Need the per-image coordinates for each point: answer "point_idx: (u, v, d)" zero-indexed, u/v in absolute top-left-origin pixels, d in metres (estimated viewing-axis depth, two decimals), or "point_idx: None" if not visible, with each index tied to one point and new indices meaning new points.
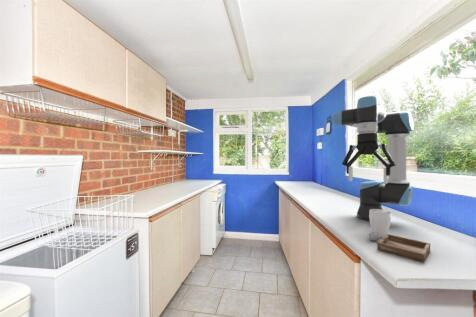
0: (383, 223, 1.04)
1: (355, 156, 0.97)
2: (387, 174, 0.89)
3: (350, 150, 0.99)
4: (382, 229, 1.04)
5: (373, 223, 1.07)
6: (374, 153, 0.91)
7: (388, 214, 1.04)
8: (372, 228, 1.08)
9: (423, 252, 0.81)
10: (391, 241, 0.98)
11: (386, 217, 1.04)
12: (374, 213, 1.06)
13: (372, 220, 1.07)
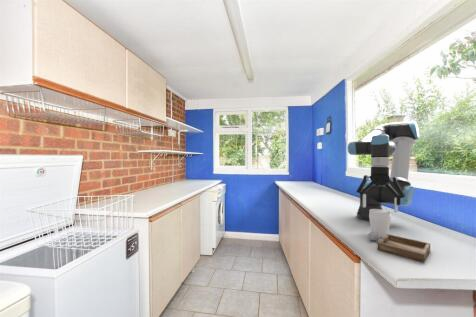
0: (383, 223, 1.04)
1: (369, 186, 1.10)
2: (397, 204, 1.01)
3: (364, 180, 1.12)
4: (382, 229, 1.04)
5: (373, 223, 1.07)
6: (386, 185, 1.04)
7: (388, 214, 1.04)
8: (372, 228, 1.08)
9: (423, 252, 0.81)
10: (391, 241, 0.98)
11: (386, 217, 1.03)
12: (374, 213, 1.06)
13: (372, 220, 1.07)
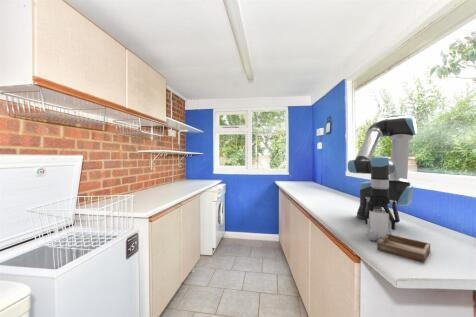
0: (383, 223, 1.04)
1: (371, 208, 1.10)
2: (392, 228, 1.03)
3: (365, 202, 1.11)
4: (382, 229, 1.04)
5: (373, 223, 1.07)
6: (384, 207, 1.05)
7: (388, 214, 1.04)
8: (372, 228, 1.08)
9: (423, 252, 0.81)
10: (391, 241, 0.98)
11: (386, 217, 1.03)
12: (374, 213, 1.06)
13: (372, 220, 1.07)
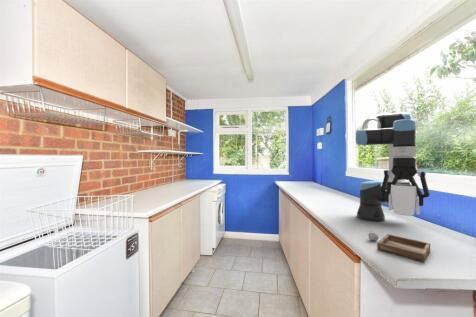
0: (409, 198, 0.86)
1: (393, 182, 0.92)
2: (420, 204, 0.86)
3: (386, 176, 0.94)
4: (408, 205, 0.87)
5: (396, 199, 0.89)
6: (410, 180, 0.87)
7: (415, 187, 0.86)
8: (395, 205, 0.90)
9: (423, 252, 0.81)
10: (391, 241, 0.98)
11: (413, 190, 0.86)
12: (398, 187, 0.88)
13: (395, 195, 0.89)
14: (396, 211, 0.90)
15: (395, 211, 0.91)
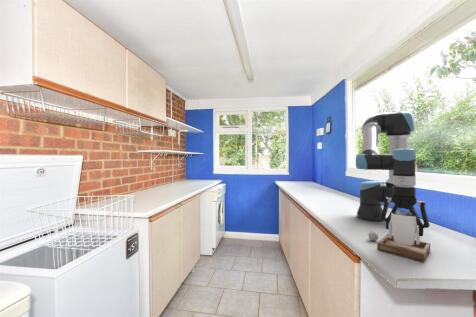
0: (408, 228, 0.86)
1: (393, 210, 0.92)
2: (420, 235, 0.86)
3: (386, 203, 0.94)
4: (408, 235, 0.87)
5: (396, 228, 0.89)
6: (410, 210, 0.88)
7: (415, 217, 0.86)
8: (395, 234, 0.90)
9: (423, 252, 0.81)
10: (391, 241, 0.98)
11: (412, 220, 0.86)
12: (398, 216, 0.88)
13: (395, 224, 0.90)
14: (396, 240, 0.90)
15: (395, 240, 0.91)
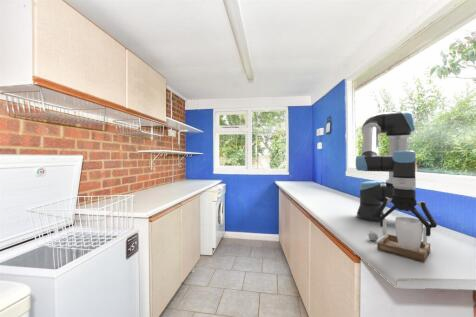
0: (414, 235, 0.85)
1: (390, 210, 0.93)
2: (427, 234, 0.84)
3: (384, 203, 0.95)
4: (413, 242, 0.86)
5: (401, 235, 0.88)
6: (412, 211, 0.87)
7: (420, 224, 0.85)
8: (400, 240, 0.89)
9: (423, 252, 0.81)
10: (391, 241, 0.98)
11: (418, 227, 0.85)
12: (403, 223, 0.87)
13: (400, 231, 0.88)
14: (401, 246, 0.89)
15: (400, 246, 0.90)
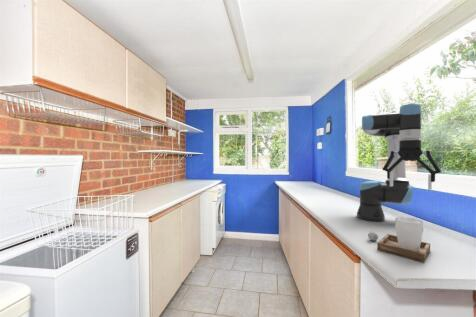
0: (414, 235, 0.85)
1: (397, 162, 0.99)
2: (432, 180, 0.91)
3: (391, 156, 1.00)
4: (413, 242, 0.86)
5: (401, 235, 0.88)
6: (418, 160, 0.93)
7: (420, 224, 0.85)
8: (400, 240, 0.89)
9: (423, 252, 0.81)
10: (391, 241, 0.98)
11: (418, 227, 0.85)
12: (403, 223, 0.87)
13: (400, 231, 0.88)
14: (401, 246, 0.89)
15: (400, 246, 0.90)
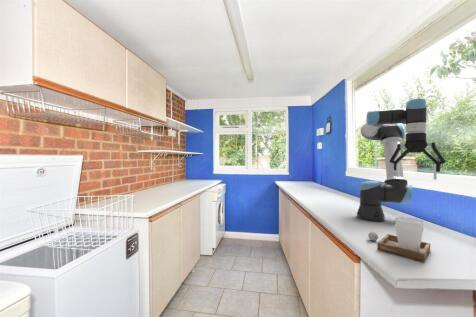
0: (414, 235, 0.85)
1: (403, 154, 1.04)
2: (437, 170, 0.96)
3: (398, 148, 1.06)
4: (413, 242, 0.86)
5: (401, 235, 0.88)
6: (424, 151, 0.98)
7: (420, 224, 0.85)
8: (400, 240, 0.89)
9: (423, 252, 0.81)
10: (391, 241, 0.98)
11: (418, 227, 0.85)
12: (403, 223, 0.87)
13: (400, 231, 0.88)
14: (401, 246, 0.89)
15: (400, 246, 0.90)
